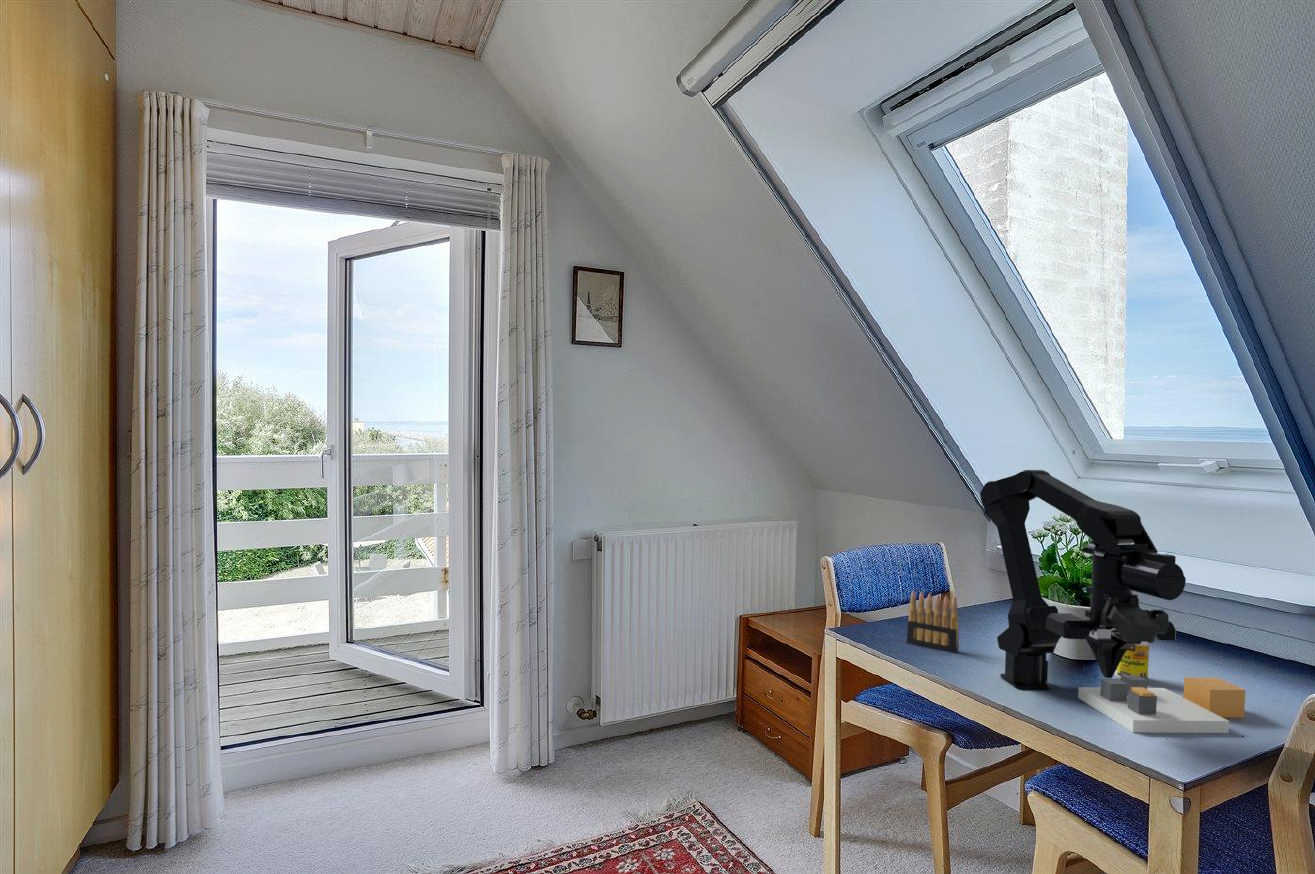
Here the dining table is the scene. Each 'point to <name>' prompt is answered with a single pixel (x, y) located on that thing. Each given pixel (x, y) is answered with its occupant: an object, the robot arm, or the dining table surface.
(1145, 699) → the block
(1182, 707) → the board
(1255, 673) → the dining table surface
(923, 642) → the ammunition clip
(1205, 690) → the orange block
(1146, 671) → the supplement bottle
